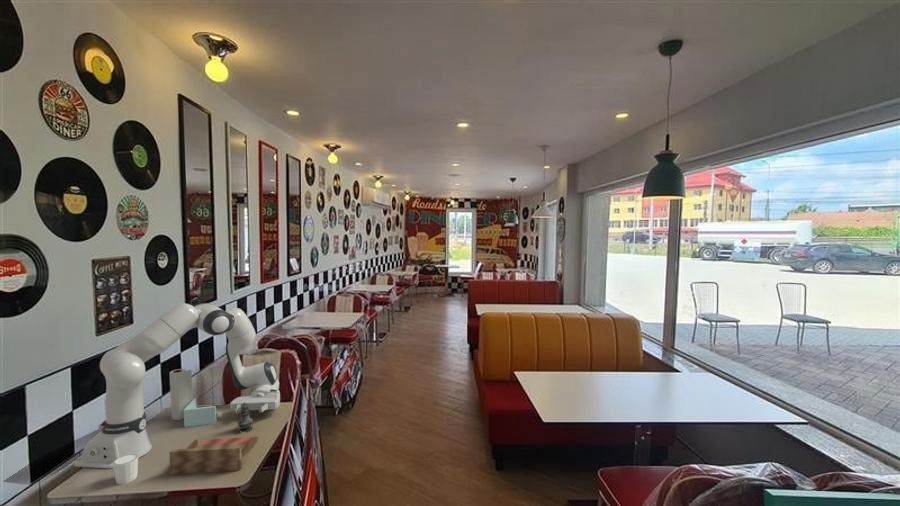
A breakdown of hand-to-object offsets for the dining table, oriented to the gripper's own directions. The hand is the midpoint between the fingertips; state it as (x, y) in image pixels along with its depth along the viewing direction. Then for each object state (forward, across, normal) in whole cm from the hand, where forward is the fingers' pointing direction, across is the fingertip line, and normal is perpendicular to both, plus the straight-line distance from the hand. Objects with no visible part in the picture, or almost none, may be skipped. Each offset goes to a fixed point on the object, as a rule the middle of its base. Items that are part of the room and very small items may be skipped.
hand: (248, 411), depth 173 cm
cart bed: (+23, -2, +6) cm, 24 cm away
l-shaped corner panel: (-7, -22, +6) cm, 24 cm away
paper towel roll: (-10, -33, +6) cm, 35 cm away
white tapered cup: (+34, -27, +6) cm, 44 cm away
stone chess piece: (+4, 0, +6) cm, 8 cm away
